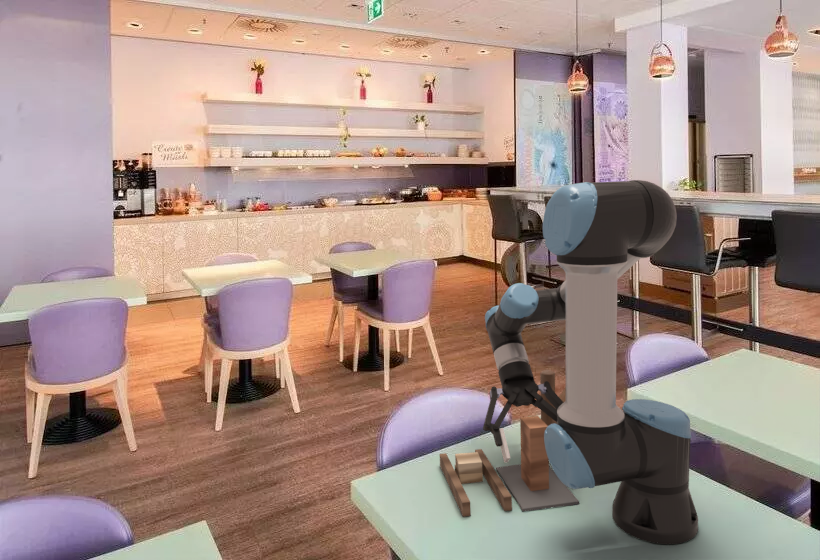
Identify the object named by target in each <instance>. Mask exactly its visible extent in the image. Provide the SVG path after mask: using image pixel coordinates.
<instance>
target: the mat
mask: <svg viewBox="0 0 820 560" xmlns="http://www.w3.org/2000/svg"><path fill="white" fill-rule="evenodd" d="M495 471H496V472H497V474H498V476H499V477H500V479H501V480H502V482H503V483H504V485H505V487H506V488H507V490H508V491H509V493H510V494H511V496H512V497H513V499H514V500H515V501H516V504H517V505H518V507H519V508H520V510H521V511H522V512H530V511H537V510H538V511H539V510H545V508H546V509H552V508H551V507H553V508H560V507H567V506H573V505H574V504H575V505H579V504H580V500H579V499H578V498H577V496H575V494H574V493H573V492H572V491H571V490H570V488H569V487H567V486H566V485H565V484H563V483H562V482H561V481H560V479H559V478H558V477H557V475H556V474H555V472H554V470H553V468H552V466H550V465H549V489H544V490H536V491H530V489H529V488H528V486H527V485H526V484H525V482H524V481H523V479H522V478H521V463H518V464H512V465H504V466H496V467H495ZM575 505H574V506H575Z"/></svg>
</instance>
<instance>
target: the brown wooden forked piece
mask: <svg viewBox="0 0 820 560" xmlns="http://www.w3.org/2000/svg"><path fill="white" fill-rule="evenodd" d="M539 374H540V380H539V381H540V382H539V383H540V384H544V382H545V381H548V382H549V383H550V386H551V388H552V390H553V391H554V392H555V393H556V373H555V371H554V370H552V369H544V370H541V371H540V373H539ZM540 384H539V385H540ZM540 396H542V398H543V399H544V400H545V401H546V402H548V403H549V404H550V405H552V404H551V403H550V401H549V400H548V399H547V398H546V397H545V395H544V394H542V393H541V392H540ZM558 397H559V398H560V399H561V400H562V401H563V402H565V401H566V386H565V387H564V388H563V390H562V391H561V393H560V394H559V395H558ZM552 406H553V405H552ZM553 407H554V406H553ZM554 408H555V407H554ZM555 409H556V408H555ZM540 419H541V420H542V421H543V422H544V423H545V424H546V425H547V426H549V425H551V424H554V423H557V422H556V421H554V420H553V419H552V418H551V417H549V416H548V415H547V414H546V413H544V412H543V411H542V410H540Z"/></svg>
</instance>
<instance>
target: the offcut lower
mask: <svg viewBox="0 0 820 560" xmlns="http://www.w3.org/2000/svg"><path fill="white" fill-rule="evenodd" d="M454 470H455V472H456V474H457V476H458V478H459V480H460V482H461V484H462V485H464V484H473V483H474V484H475V483H482V482H483V481H484V479H483V478H484V476H483V472H482V473H473V474H461V475H459V473H458V470H457V467H456V464H454Z"/></svg>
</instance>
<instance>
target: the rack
mask: <svg viewBox="0 0 820 560" xmlns="http://www.w3.org/2000/svg"><path fill="white" fill-rule="evenodd" d="M474 452H478V454H479V456H480V459H481V461H482V472H483V478H484V479H485V481H486V482H487V484H488V486H489V487H490V489H491V491H492V492H493V494H494V496H495V498H496V499H497V501H498V502H499V504H500V506H501V507H502V510H503V511H504V512H509V511H513V498H512V497H513V496H512V494H511V493H510V491H509V489H508V488H507V486H506V485H505V483H504V482H503V480H502V479H501V477H500V475H499V474H498V472H497V471H496V468H494V466H493V465H492V462H490V460H489V459H488V457H487V455H486V454H485V452H484V451H483V449H482V448H479V449H474ZM439 466H440V469H441V471H442V473H443V476H444V478H445V480H446V482H447V484H448V487H449V489H450V491H451V493H452V496H453V497H454V500H455V502H456V504H457V507H458V509H459V511H460V513H461V515H462V517H470V516H472V514H471V513H472V511H471V499H470V498H469V496H468V494H467V492H466V490H465V488H464V487H463V484H461V482H460V480H459V478H458V476H457V474H456V472H455V467H454V466H453V464H452V461H451V460H450V458H449V456H448V453H446V452H445V453H439Z"/></svg>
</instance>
